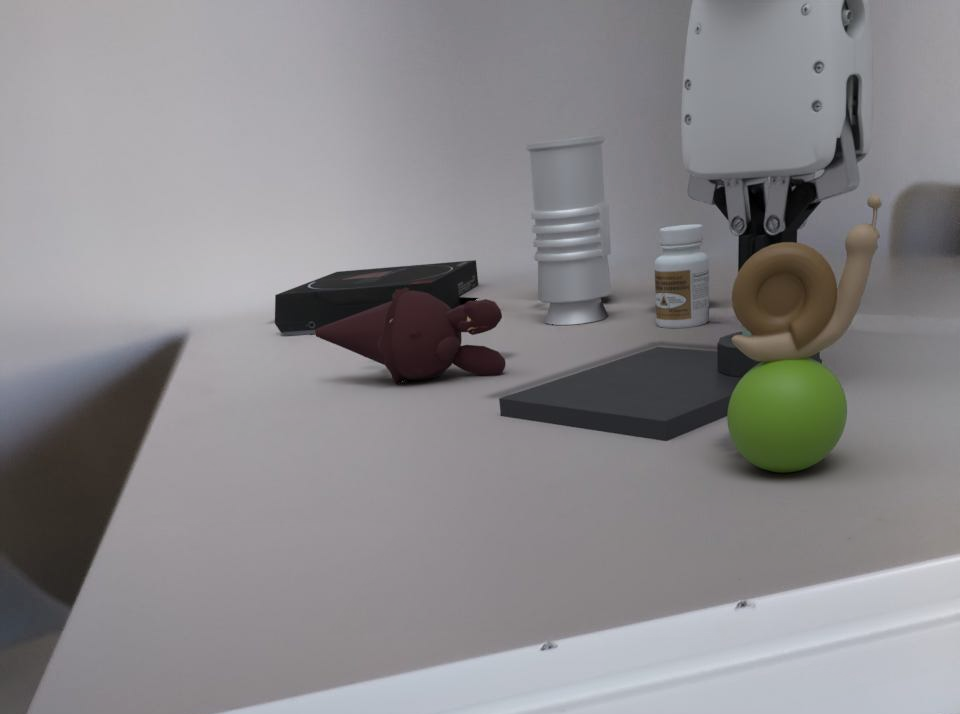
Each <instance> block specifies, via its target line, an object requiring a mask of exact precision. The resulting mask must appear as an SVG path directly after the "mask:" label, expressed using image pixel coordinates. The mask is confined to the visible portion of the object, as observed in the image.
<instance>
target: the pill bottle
mask: <svg viewBox="0 0 960 714" xmlns="http://www.w3.org/2000/svg"><path fill="white" fill-rule="evenodd" d="M703 229H704V227H703V224H699V223H697V224H693V223H692V224H680V225H678V224H677V225H672V226H671V225H670V226H666V227H662V228H660V229H659V244H660V245H659V248H660V249H662V254H661V255H659V256H658V257H657V258H656V259H655V261H654V290H655V291H654V292H655V323H656V325H657V326H658V327H659V328H662V329H689V328H696V327H700V326H704V325H706V324H707V323H708V322H709V321H710V262H709V261H710V260H709V256H708V255H707V254H706V253H705V252H704V251H701V245H702V244H703V240H704V233H703V232H704V230H703Z"/></svg>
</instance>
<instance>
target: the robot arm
mask: <svg viewBox="0 0 960 714" xmlns="http://www.w3.org/2000/svg"><path fill="white" fill-rule="evenodd" d="M870 11H871V9H870V2H869V0H692V1H691V7H690V14H689V19H688V21H689V22H688V27H687V33H686V43H685V52H684V62H683V75H682V89H681V90H682V91H681V93H682V94H681V118H680V119H681V124H680V125H681V127H680V128H681V129H680V130H681V131H680V133H681V154H682V162H683V166H684V169H685V171H686V172H687V173H688V174H689V177H688V179H689V180H688V184H687V195H688V197H689V198H690V199H691V200H693V201H697V202H701V203H704V204H707V205H711V206H716V207H717V209H718V210H719V212H720V213H721V214H722V215H723V216H724V218H725V219H726V220H727V221H728V228H729V231H730V233H731V234H732V235H733V236H735V237H738V246H737V247H738V249H737V253H738V254H737V273H738V272H739V271H740V269H741V268H742V266H743V265H744V263H745V262H746V261H747V260H748V259H749V258H750V257H751V256H752V255H754V254H755V253H756V252H758V251H759V250H761V249H763V248H765V247H767V246H770V245H772V244H777V243H782V242H795V243H798V231H799V230H801V229H803V228H804V227H805V226H806V224H807V222H808V218H809V217H810V216H811V215H812V213H813V212H814V211H815V210H816V209H817V207H818V206H819V205H820V204H821V203H822V202H824V201H825V200H829V199H832V198H836V197H838V196H841V195H845V194H848V193H851V192H854V191H855V190H857V188H858V187H859V185H860V180H861V179H860V173H859V166H858V163H860V162H862V160H864V159H865V158H866V157H867V156H868V154H869V151H870V148H871V143H872V142H871V141H872V136H873V135H872V134H873V120H874V119H873V118H874V117H873V114H874V110H873V109H874V66H873V65H874V63H873V62H874V61H873V59H874V58H873V57H874V56H873V34H872V21H871V12H870ZM821 170H822V171H823V173H822V174H821V175H819V176H818V177H815V175H816V172H819V171H821Z"/></svg>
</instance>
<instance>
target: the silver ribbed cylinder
mask: <svg viewBox="0 0 960 714" xmlns="http://www.w3.org/2000/svg"><path fill="white" fill-rule="evenodd" d="M605 138H606V137H605V134H602V135H601V134H600V135H590V136H582V137H573V138H572V137H571V138H564V139H556V140H548V141H547V140H546V141H539V142H532V143H526V145H525V146H526V147H525V148H526V150H527V151H528V152H529V159H530V160H529V161H530V172H531V173H530V174H531V187H532V198H533V199H532V200H533V210H532V211H531V213H530V219H531V220H534V224H533V226H532V227H531V232H532V234H535V238H534V239H533V241H532V246H533V247H535V248H536V250H537V251H535V253H534V254H533V258H534V259H533V260H534V261H536V262H537V299H538V301H540V302H541V303H547V304H548V303H549V306H548V309H547V313H546V316H545V318H544V323H545V324H547V323H548V324H547V325H552V324H553V325H554V326H570V325H580V324H588V323H594V322H599V321H602V320H605V319H607V318H608V317H609V312H607V309H606V307H605V305H604V303H603V302H602V298H606V297H608V296H610V295H611V294H612V292H613V290H612V281H611V274H610V266H609V257H608V256H610V255H612V247H611V228H610V226H611V225H610V206H609V204H608V203H607V202H605V201H606V200H605V181H604V162H603V161H604V160H603V143H604V142H605Z"/></svg>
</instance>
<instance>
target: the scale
mask: <svg viewBox="0 0 960 714" xmlns="http://www.w3.org/2000/svg"><path fill="white" fill-rule="evenodd" d="M736 335H742V331H737V332H733V333H730V334H727V335H724V336H721V337H720V338H719V339H718V341H717V344H716V345H717V350H707V349H706V350H705V349H693V348H679V347H665V346H656V347H652V348H650V349H646V350H643V351H640V352H637V353H634V354H631V355H629V356H625V357H622V358H619V359H615V360H613V361H610V362H606V363H604V364H601V365H598V366H594V367H591V368H588V369H585V370H582V371H580V372H576V373H572V374H570V375H566V376H564V377H561V378H558V379H554V380H551V381H548V382H545V383H541V384H539V385H536V386H532V387H530V388H527V389H523V390H521V391H517V392H513V393H512V394H509V395H506V396H502V397H499V399H498V401H499V411H500V417H505V418H511V419H512V418H513V419H518V420H523V421H531V422H535V423H544V424H550V425H557V426H562V427H570V428H577V429H583V430H588V431H589V430H590V431H597V432H603V433H610V434H617V435H623V436H630V437H635V438H643V439H648V440H654V441H655V440H656V441H661V442H662V441H663V442H668V441H671V440H673V439H675V438H678V437H680V436H683V435H685V434H688V433H690V432H693V431H696V430H697V429H699V428H702V427H705V426H707V425H709V424H712V423H714V422H717V421H719V420H721V419H723V418H727V413H728V406H729V402H730V398H731V396H732V393H733V391H734V389H735V387H736V386H737V384H738V383H739V381H740V380H741V379H742V377H743V376H744V375H745V374H746V373H747V372H748V371H750V370H751V369H752V368H753V367H755V366H756V365H758V364H759V363H761V362H760V361H755V360H753V359H751V358H749V357H748V356H746V355H745V354H744V353H743V352H741V351H740V350H739V349H738V348H737V347H736V346H735V345H734V344H733V342H732V337H733V336H736ZM820 357H821V351H820V352H818V353H817V354H815V355H813V356H811V357H809V358H811V359H813V360H816V361H818V362H819V363H821V364H823V359H822V358H820Z"/></svg>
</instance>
